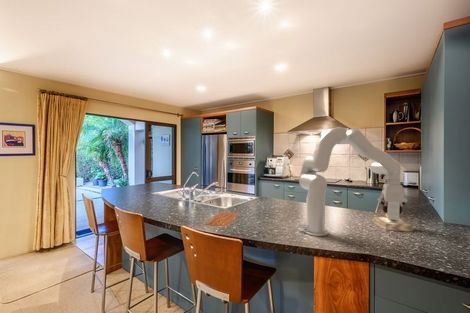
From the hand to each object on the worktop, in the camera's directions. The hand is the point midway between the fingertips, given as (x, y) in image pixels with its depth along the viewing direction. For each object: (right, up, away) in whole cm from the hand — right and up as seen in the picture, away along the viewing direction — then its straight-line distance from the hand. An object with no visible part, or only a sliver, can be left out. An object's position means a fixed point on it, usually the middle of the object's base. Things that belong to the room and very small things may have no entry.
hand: (392, 212), depth 130 cm
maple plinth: (0, -9, 0) cm, 9 cm away
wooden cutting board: (-101, -9, +15) cm, 102 cm away
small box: (0, -4, 0) cm, 4 cm away
